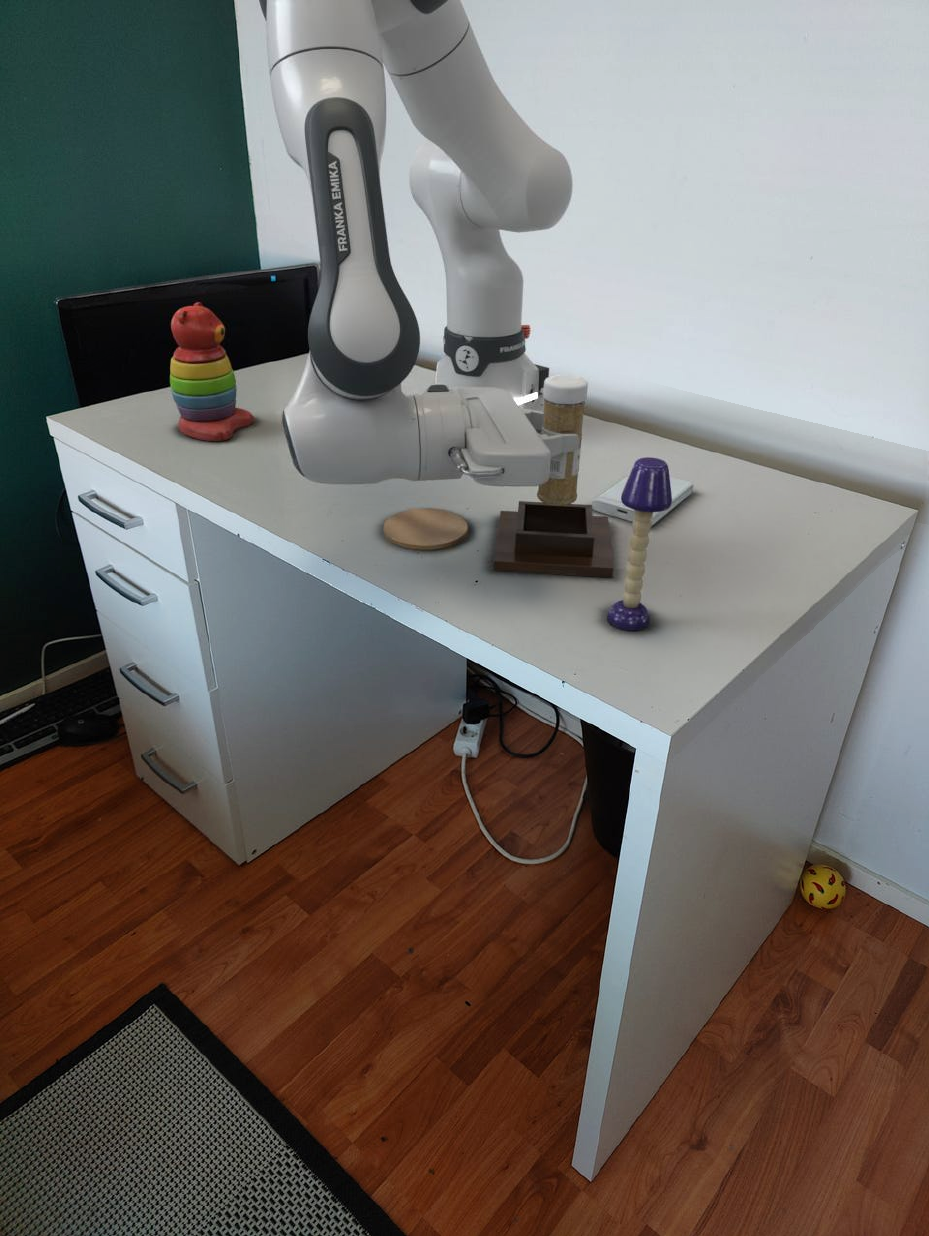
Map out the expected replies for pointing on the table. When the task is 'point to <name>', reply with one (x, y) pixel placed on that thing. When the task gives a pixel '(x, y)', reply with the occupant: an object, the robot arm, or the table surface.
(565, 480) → the sprinkles bottle
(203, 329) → the stacking bear
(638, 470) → the toy lamp
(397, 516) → the coaster
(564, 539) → the holder
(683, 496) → the hard drive
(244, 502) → the table surface
